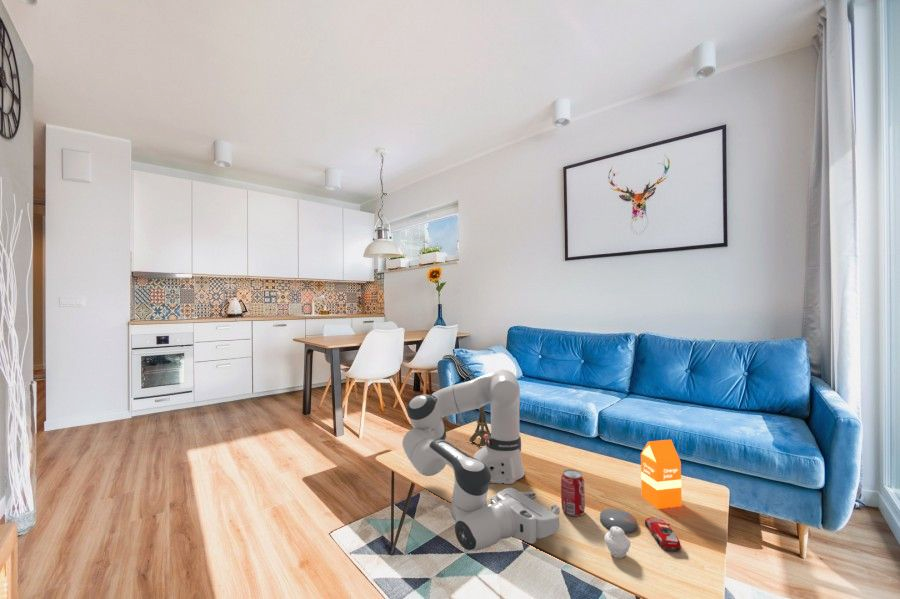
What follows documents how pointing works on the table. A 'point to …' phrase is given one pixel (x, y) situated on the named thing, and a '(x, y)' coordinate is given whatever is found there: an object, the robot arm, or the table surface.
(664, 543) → the race car
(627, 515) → the grey rounded flat dome
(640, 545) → the table surface
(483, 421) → the eiffel tower
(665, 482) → the orange juice
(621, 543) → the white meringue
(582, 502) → the soda can
